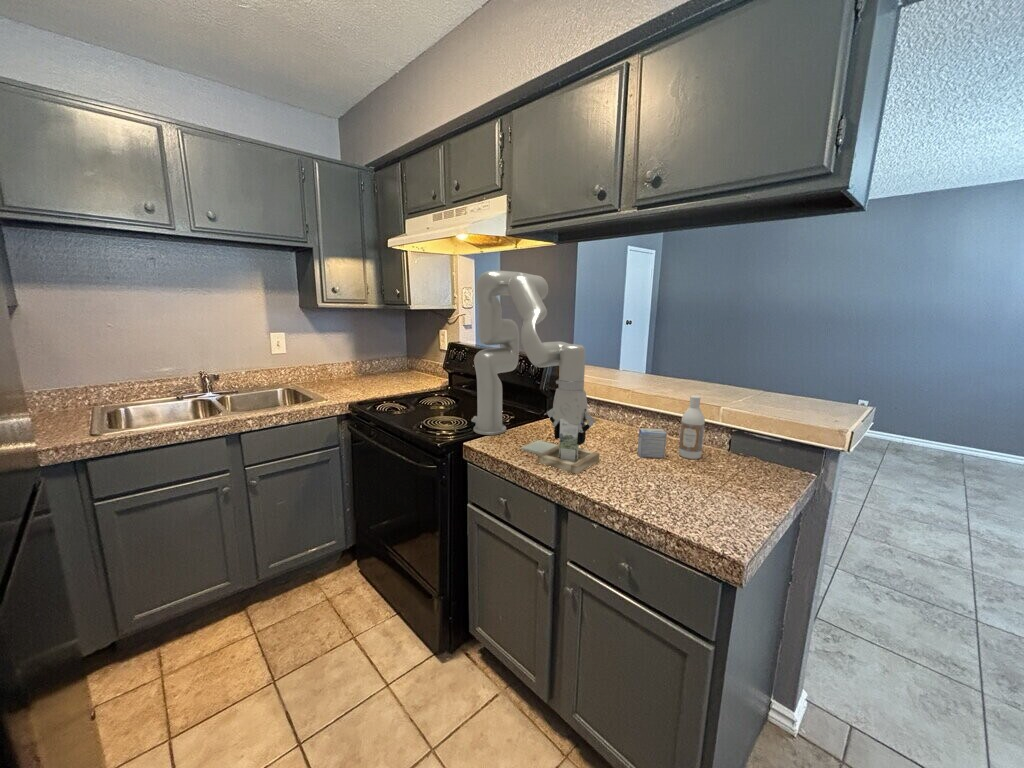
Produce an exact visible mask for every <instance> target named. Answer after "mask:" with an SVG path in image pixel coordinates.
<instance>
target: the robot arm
mask: <svg viewBox="0 0 1024 768" xmlns="http://www.w3.org/2000/svg"><path fill="white" fill-rule="evenodd" d="M548 294H549V285H548V282H547V280H546V279H545V278H544V277H543V276H541V275H535V274H531V273H526V272H522V271H521V272H520V271H511V270H510V271H509V270H487V271H485V272H482V273H481V274H480V276H478V279H477V281H476V285H475V295H476V299H477V306H478V314H477V315H478V317H477V318H478V320H477V322H478V329H477V330H478V338H479V342H480V343H481V344H482V345H484V346H497V345H500V347H493V348H485V349H481V350H479V351H478V352H477V353H476V354H475V356H474V359H473V364H474V369H475V374H476V375H475V376H476V390H477V392H476V393H477V400H476V402H477V404H476V405H477V410H476V411H477V413H476V414H477V415H474V416H473V417H472V418H471V422H472V423H474V424H475V425H474V426H473V432H475V434H478V435H483V436H495V435H501V434H504V433H505V432H506V431H507V426H506V425H504V424H503V383H502V381H501V379H500V378H499V375H498V374H501V373H508V372H513V371H514V370H516V369H517V367H518V364H519V358H520V354H519V353H520V352H519V351H520V342H521V346H522V349H523V350H524V352H525V354H526V357H527V358H528V360H529V362H530V363H531V364H532V365H533V366H535V367H536V368H540V369H541V368H548V367H549V368H550V367H556V366H558V367H559V369H558V371H559V372H558V373H559V374H558V379H556V380H555V384H556V385H558V387H557V388H556V389H555V393H554V397H553V403H552V408H550V409H549V410H548V411H546V414H547V416H548V417H549V420H550V422H551V423H552V426H553V430H554V432H553V436H554V440H559V438H560V419H563V420H566V421H568V423H570V424H573V425H578V429H579V432H578V440H577V444H578V446H581V445H582V444H585V442H586V432H587V431H588V430H589V429H591V428H592V426H593V425H594V424H595V423H596V419H594V418H593V416H592V415H591V414H589V412H588V399H587V392H586V390H585V371H586V369H585V368H586V348H585V346H584V345H582V344H577V343H570V342H569V343H568V342H565V341H546V342H545V341H544V342H542V341H541V338H540V337H539V335H538V333H537V330H536V329H537V328H536V325H538V324H540V323H541V322H542V321H544V319H545V318H546V317H547V316H548V310H547V307H546V306H545V303H544V302H543V300H545V299H546V298H547V296H548ZM497 296H506V297H507V296H508V297H509V296H510V297H511V300H512V302H513V304H514V305H515V308H516V310H517V312H518V315H519V316H520V318H521V321H522V322H523V323H522V326H521V330H520V331H519V327H518V324H517V323H516V322H515V321H514V320H513V319H511V318H503V315H502V314H503V312H502V311H503V307H502V304H501V301H500V300H499V299H498V297H497ZM586 422H587V423H586Z"/></svg>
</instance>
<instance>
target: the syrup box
mask: <svg viewBox="0 0 1024 768" xmlns="http://www.w3.org/2000/svg"><path fill="white" fill-rule="evenodd" d="M578 432H580V431H579V429H578V425H573V424H570V423H568V421H566V420H563V419H560V438H559V439H558V440H559V442H558V443H559V444H558V445H559V456H558V458H559V459H563V460H566V461H570V462H573V463H575V462H577V461H579V458H578V448H579V445H578V444H577V440H578Z"/></svg>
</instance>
